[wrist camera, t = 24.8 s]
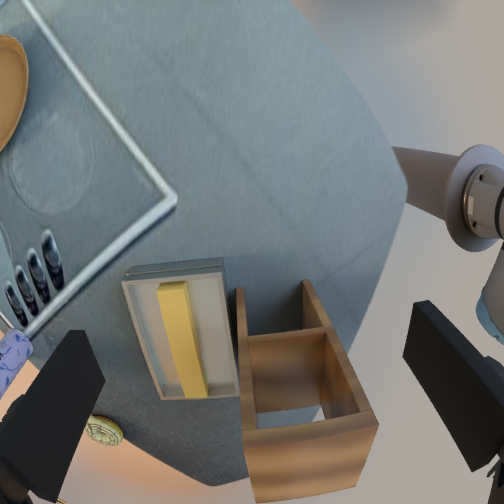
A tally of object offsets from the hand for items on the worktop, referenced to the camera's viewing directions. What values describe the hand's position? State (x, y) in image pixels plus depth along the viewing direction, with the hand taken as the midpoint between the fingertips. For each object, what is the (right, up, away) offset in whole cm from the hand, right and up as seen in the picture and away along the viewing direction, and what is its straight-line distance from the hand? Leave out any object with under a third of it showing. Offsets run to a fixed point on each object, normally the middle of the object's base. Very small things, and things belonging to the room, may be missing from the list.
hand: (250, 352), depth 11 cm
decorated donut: (-37, -40, +51) cm, 74 cm away
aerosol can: (-52, -16, +42) cm, 68 cm away
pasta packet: (-11, -11, +38) cm, 41 cm away
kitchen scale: (-11, -9, +41) cm, 44 cm away
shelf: (+4, -8, +42) cm, 43 cm away
